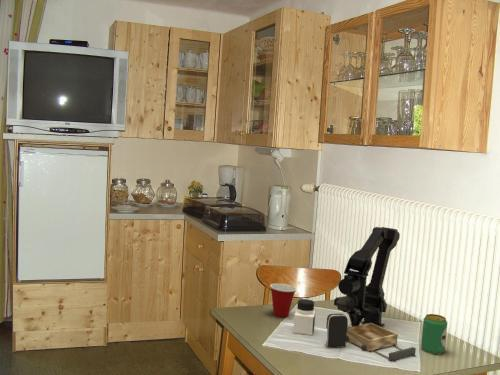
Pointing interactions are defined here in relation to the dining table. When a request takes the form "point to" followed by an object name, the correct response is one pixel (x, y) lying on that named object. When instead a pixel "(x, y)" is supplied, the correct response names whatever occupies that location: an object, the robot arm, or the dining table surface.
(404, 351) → the rails
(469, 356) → the dining table surface
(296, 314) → the medicine bottle
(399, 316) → the dining table surface
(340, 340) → the battery charger
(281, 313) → the plastic cup
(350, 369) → the dining table surface
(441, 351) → the beverage can
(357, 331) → the shallow wooden tray
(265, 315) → the dining table surface
